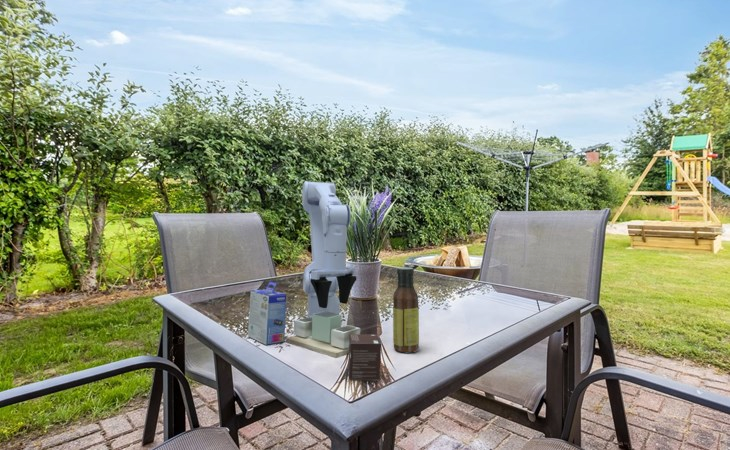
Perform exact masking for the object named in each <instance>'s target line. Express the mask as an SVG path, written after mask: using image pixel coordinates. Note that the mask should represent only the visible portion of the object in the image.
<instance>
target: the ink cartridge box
mask: <svg viewBox="0 0 730 450" xmlns="http://www.w3.org/2000/svg"><path fill="white" fill-rule="evenodd" d="M277 285H278V283H277V282H272V281H269V283H268V284H267V285H266V288H265V289H256V290H254V289H253V290H250V295H249V296H250V299H249V313H248V315H249V316H248V330H247V336H248V338H250V339H253V340H255V341H257V342H259V343H261V344H263V345H265V346H267V345H273V344H280V343H285V338H286V337H285V334H286V333H285V332H286V310H287V309H286V308H287V293H283V292H279V291H275V290H276V287H277ZM270 286H273V287H270Z"/></svg>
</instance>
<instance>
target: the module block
mask: <svg viewBox="0 0 730 450" xmlns="http://www.w3.org/2000/svg"><path fill="white" fill-rule="evenodd" d="M340 327H342V315H341V314H340V313H339V314H336V313H331V312H327V311H325V312H324V311H323V312H319V313H314V314H312V338H314V339H317V340H321V341H324V342H328V343H331V330H333V329H336V328H340Z"/></svg>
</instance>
